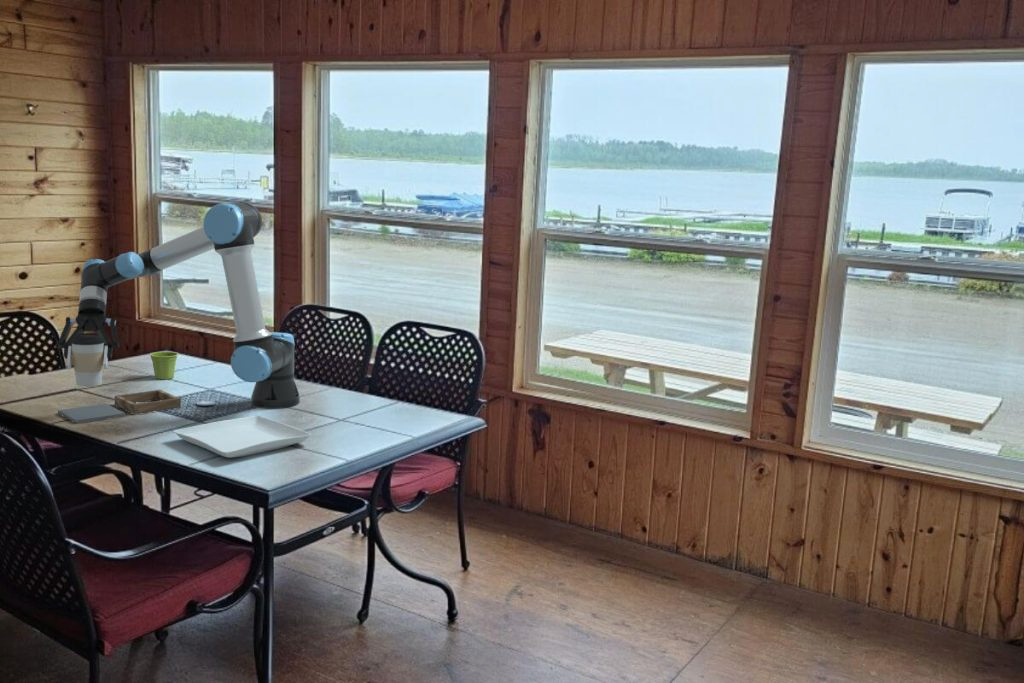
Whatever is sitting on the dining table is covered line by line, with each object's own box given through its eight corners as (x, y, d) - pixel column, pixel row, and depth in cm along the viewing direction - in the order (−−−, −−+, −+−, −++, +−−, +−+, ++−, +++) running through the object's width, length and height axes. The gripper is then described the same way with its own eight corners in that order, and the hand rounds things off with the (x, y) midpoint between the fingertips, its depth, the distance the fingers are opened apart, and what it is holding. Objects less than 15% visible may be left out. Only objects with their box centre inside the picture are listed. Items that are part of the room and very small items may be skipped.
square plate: (313, 446, 252) (313, 432, 251) (225, 466, 231) (224, 451, 231) (258, 425, 269) (258, 412, 269) (171, 442, 249) (171, 428, 248)
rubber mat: (125, 416, 271) (124, 413, 270) (76, 423, 261) (75, 420, 260) (106, 406, 280) (105, 403, 280) (58, 413, 270) (58, 410, 270)
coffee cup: (93, 378, 275) (91, 329, 272) (112, 383, 270) (111, 333, 268) (65, 383, 267) (63, 333, 265) (84, 388, 263) (83, 337, 260)
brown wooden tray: (180, 408, 283) (180, 398, 282) (134, 415, 272) (134, 405, 272) (160, 398, 292) (159, 389, 292) (114, 405, 282) (114, 395, 282)
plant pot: (151, 375, 323) (150, 351, 322) (179, 374, 326) (178, 351, 325) (149, 381, 315) (148, 356, 313) (178, 380, 318) (177, 356, 316)
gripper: (132, 311, 283) (128, 373, 271) (55, 311, 276) (47, 374, 264) (130, 297, 277) (126, 359, 265) (51, 296, 271) (43, 360, 258)
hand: (87, 366), depth 265 cm, fingers closed on coffee cup, 9 cm apart
